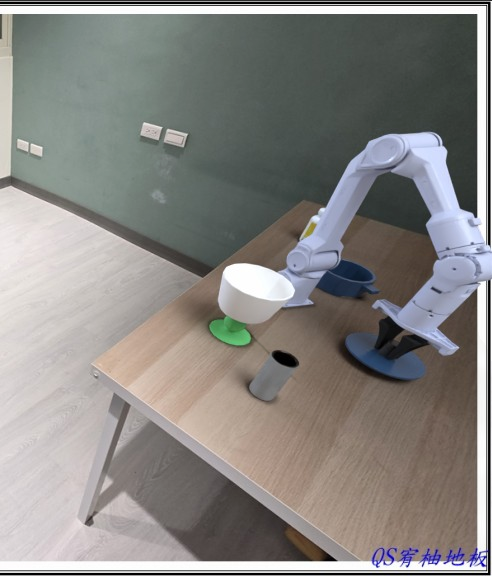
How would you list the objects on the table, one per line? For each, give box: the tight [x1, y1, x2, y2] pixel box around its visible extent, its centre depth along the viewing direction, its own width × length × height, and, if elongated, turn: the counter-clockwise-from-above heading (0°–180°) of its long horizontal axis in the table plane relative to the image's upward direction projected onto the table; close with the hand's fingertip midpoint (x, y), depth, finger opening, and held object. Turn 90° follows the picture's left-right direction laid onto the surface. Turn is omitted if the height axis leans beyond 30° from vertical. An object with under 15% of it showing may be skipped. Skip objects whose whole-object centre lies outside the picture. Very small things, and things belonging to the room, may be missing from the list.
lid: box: [344, 331, 427, 381], centre depth 81 cm, size 13×13×5 cm
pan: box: [315, 258, 381, 298], centre depth 105 cm, size 12×18×5 cm
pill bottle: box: [299, 207, 326, 242], centre depth 122 cm, size 6×6×12 cm
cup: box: [208, 262, 295, 347], centre depth 86 cm, size 14×14×16 cm
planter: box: [248, 349, 300, 402], centre depth 74 cm, size 4×4×10 cm
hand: (385, 353), depth 81 cm, fingers closed on lid, 2 cm apart
